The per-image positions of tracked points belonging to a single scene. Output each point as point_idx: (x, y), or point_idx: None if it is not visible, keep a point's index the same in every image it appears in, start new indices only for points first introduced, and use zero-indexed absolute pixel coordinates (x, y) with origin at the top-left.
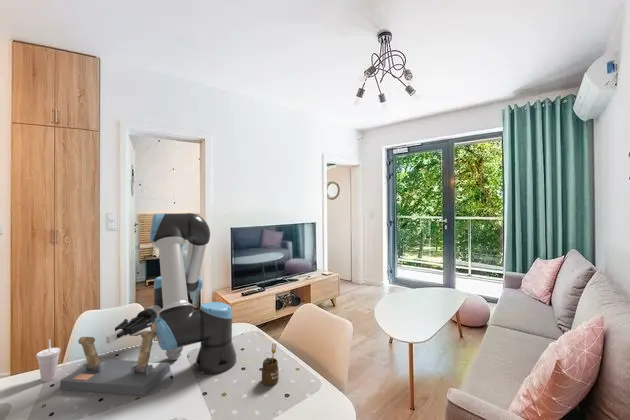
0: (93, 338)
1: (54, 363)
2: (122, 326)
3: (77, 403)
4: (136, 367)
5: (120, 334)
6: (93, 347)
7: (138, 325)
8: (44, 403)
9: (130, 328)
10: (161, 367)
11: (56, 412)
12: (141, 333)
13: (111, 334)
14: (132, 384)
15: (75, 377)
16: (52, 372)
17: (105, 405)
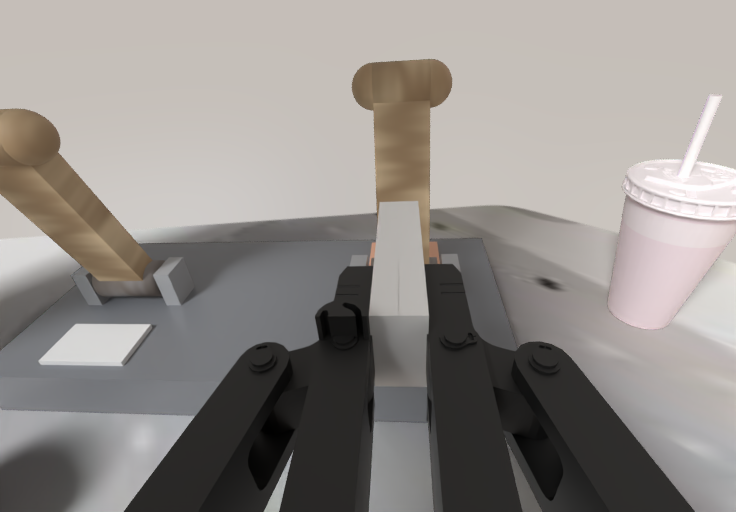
0: (357, 73)
1: (622, 238)
2: (487, 420)
3: (343, 237)
4: (155, 260)
5: (340, 278)
6: (375, 145)
7: (148, 500)
8: (448, 230)
9: (264, 351)
10: (35, 335)
11: (373, 216)
12: (45, 118)
13: (399, 221)
14: (168, 246)
15: (432, 247)
16: (612, 274)
17: (249, 239)
